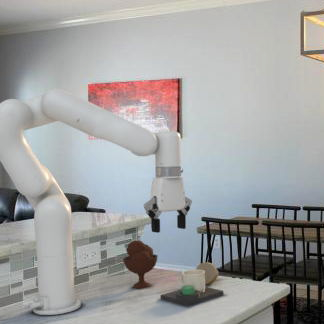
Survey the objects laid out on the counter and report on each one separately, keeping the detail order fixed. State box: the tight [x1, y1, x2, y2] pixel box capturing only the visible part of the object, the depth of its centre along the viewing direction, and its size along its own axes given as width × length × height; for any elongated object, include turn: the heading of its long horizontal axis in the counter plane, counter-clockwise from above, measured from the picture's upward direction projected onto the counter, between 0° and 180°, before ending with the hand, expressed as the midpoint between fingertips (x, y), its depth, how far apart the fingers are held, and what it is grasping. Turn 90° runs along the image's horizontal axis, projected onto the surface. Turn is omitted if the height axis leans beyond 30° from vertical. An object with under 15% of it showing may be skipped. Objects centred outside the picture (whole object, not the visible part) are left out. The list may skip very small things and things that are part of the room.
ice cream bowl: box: [122, 240, 159, 290], centre depth 174 cm, size 11×11×15 cm
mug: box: [195, 261, 219, 286], centre depth 176 cm, size 8×10×10 cm
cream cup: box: [181, 269, 206, 292], centre depth 162 cm, size 7×7×6 cm
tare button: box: [181, 285, 195, 295], centre depth 153 cm, size 4×4×2 cm
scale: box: [160, 286, 224, 307], centre depth 159 cm, size 15×13×3 cm
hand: (168, 230), depth 162 cm, fingers open, 9 cm apart
